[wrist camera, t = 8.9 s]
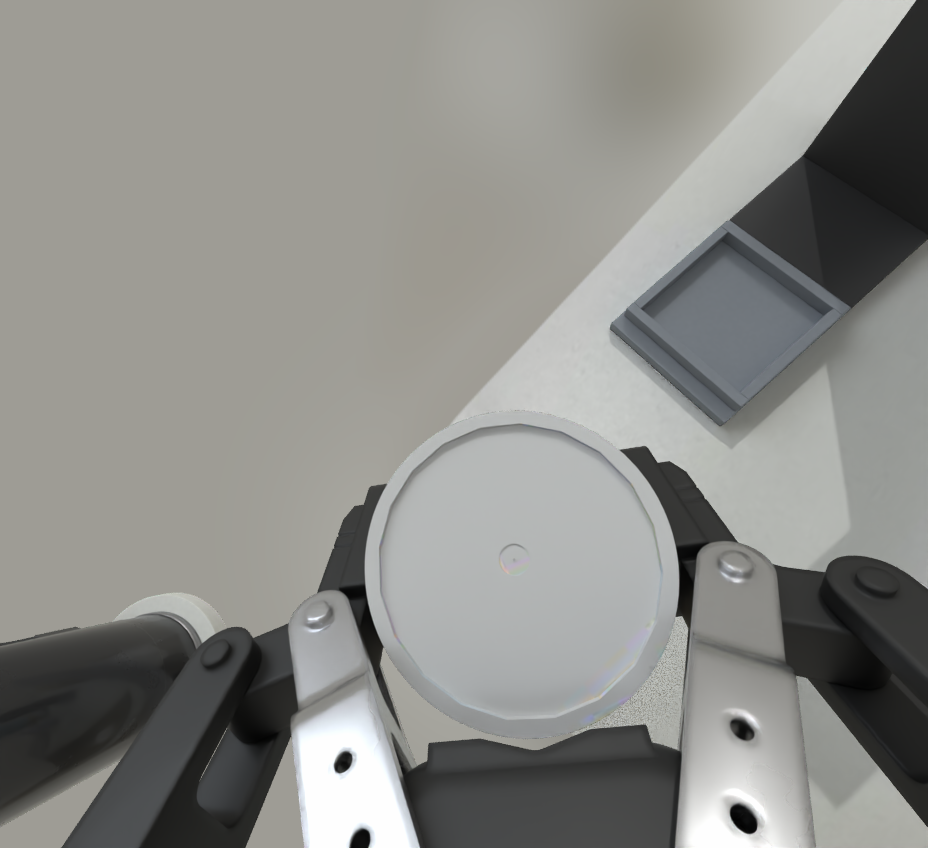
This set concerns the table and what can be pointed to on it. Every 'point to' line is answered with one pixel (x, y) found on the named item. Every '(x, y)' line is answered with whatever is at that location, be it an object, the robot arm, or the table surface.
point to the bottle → (521, 574)
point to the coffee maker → (799, 242)
